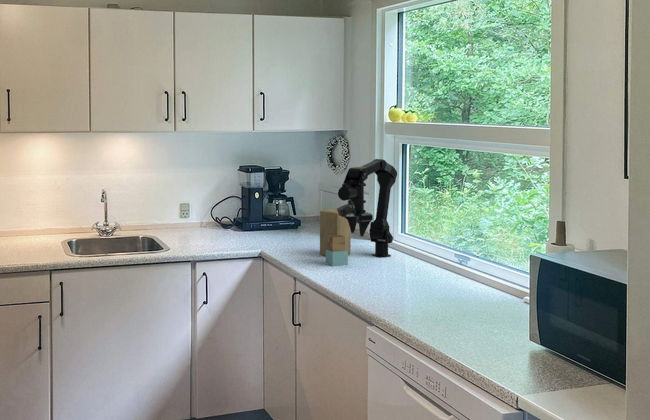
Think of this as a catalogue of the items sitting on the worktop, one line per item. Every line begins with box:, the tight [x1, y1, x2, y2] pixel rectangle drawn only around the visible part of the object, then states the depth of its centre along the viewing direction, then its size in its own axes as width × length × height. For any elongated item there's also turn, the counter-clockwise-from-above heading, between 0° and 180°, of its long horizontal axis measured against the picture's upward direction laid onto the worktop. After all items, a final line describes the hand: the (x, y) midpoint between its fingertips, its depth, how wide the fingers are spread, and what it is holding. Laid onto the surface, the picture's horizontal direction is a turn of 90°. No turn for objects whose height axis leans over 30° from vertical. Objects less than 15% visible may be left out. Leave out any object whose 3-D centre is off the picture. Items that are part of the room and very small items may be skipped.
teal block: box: [325, 249, 349, 267], centre depth 340 cm, size 7×7×6 cm
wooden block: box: [319, 208, 352, 257], centre depth 360 cm, size 10×10×20 cm
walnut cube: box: [328, 235, 345, 252], centre depth 339 cm, size 6×6×6 cm
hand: (357, 234), depth 341 cm, fingers open, 9 cm apart
